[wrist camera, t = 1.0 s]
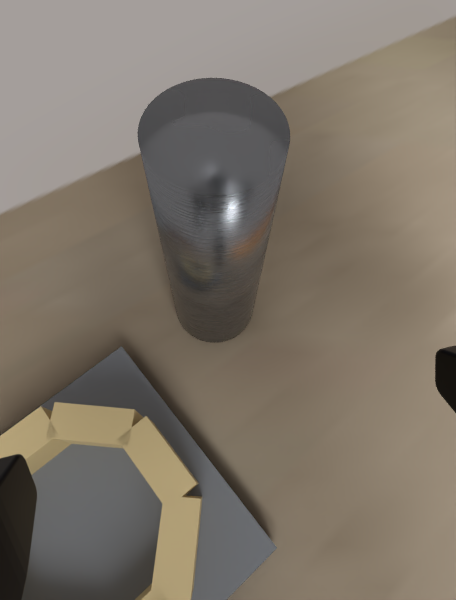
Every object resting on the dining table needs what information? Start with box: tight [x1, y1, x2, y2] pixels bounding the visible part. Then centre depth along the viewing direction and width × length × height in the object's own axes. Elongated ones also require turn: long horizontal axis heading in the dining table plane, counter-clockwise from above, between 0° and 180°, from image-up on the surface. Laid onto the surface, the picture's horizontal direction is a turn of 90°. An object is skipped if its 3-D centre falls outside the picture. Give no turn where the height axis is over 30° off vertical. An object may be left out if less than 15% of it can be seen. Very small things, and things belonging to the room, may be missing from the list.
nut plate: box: [0, 346, 277, 600], centre depth 18 cm, size 12×12×4 cm
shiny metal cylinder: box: [138, 78, 290, 342], centre depth 18 cm, size 4×4×13 cm
